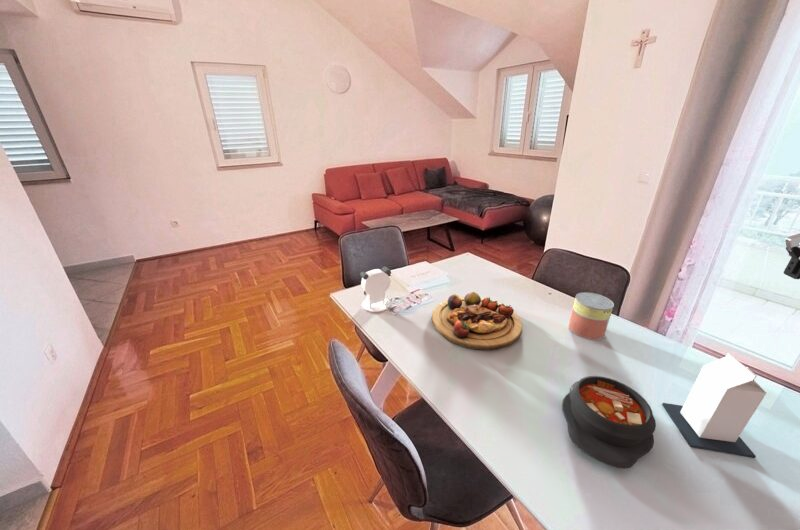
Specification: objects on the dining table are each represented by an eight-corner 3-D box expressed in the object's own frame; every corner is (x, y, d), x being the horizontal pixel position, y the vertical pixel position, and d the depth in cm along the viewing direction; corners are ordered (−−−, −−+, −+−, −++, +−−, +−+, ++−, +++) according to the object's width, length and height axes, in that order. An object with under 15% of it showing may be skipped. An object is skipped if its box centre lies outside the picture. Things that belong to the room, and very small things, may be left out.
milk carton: (699, 438, 71) (735, 374, 63) (679, 412, 77) (710, 351, 70) (735, 443, 70) (776, 378, 62) (712, 416, 76) (746, 354, 68)
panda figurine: (383, 294, 133) (382, 262, 127) (396, 306, 124) (396, 272, 118) (357, 301, 128) (355, 268, 122) (369, 315, 119) (367, 279, 113)
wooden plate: (483, 366, 93) (486, 343, 90) (413, 319, 116) (413, 300, 113) (539, 326, 112) (543, 306, 108) (469, 292, 134) (471, 275, 131)
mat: (716, 412, 78) (717, 410, 78) (755, 458, 67) (756, 456, 67) (661, 404, 80) (662, 402, 80) (690, 446, 70) (691, 445, 69)
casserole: (571, 377, 89) (578, 353, 86) (652, 410, 79) (664, 385, 75) (548, 440, 71) (555, 414, 68) (649, 494, 61) (663, 466, 57)
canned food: (607, 343, 103) (617, 312, 98) (569, 335, 107) (577, 305, 102) (601, 324, 113) (610, 295, 108) (566, 318, 117) (574, 289, 112)
